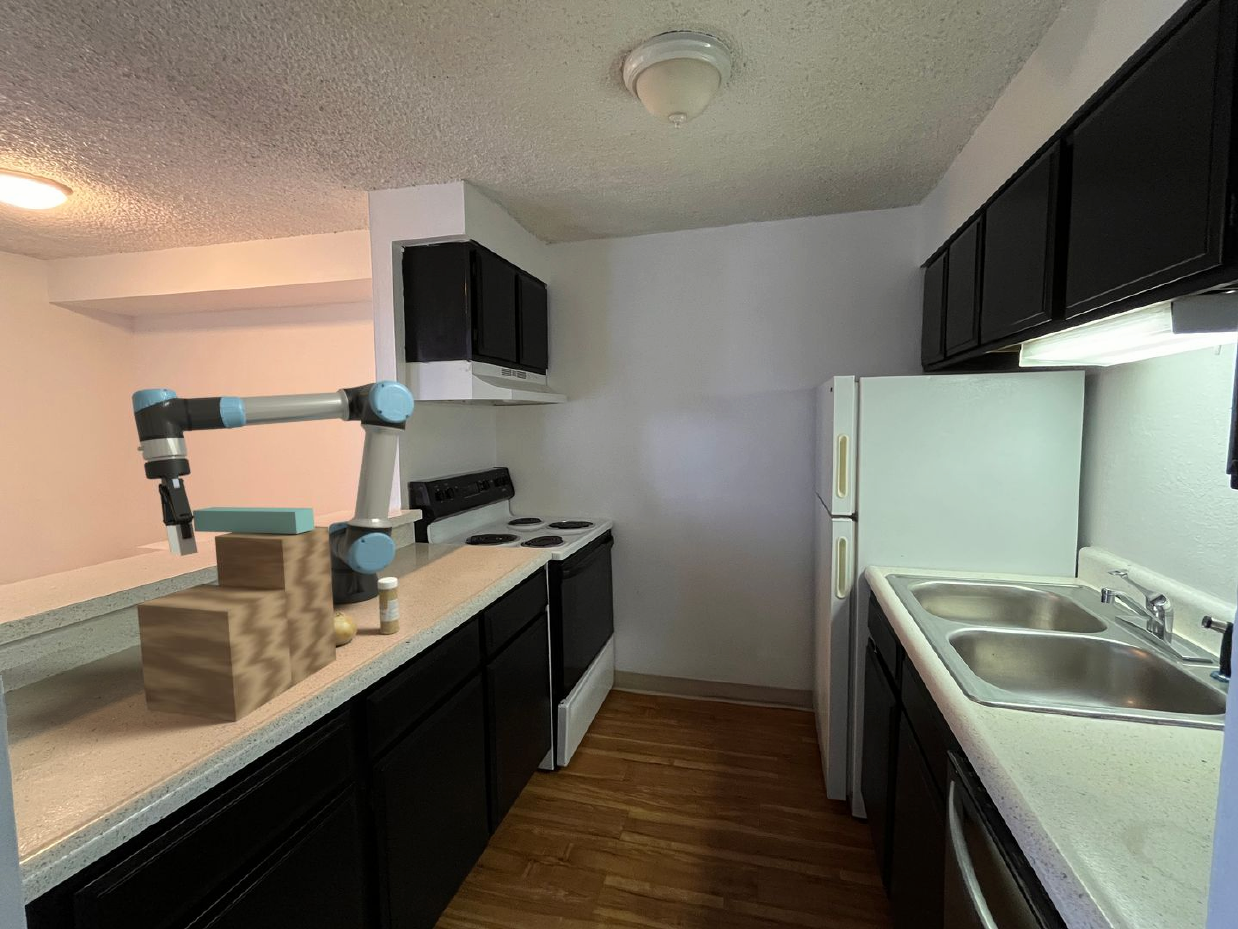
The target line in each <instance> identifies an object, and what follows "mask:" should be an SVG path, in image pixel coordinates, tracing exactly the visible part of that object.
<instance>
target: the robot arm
mask: <svg viewBox="0 0 1238 929" xmlns="http://www.w3.org/2000/svg"><path fill="white" fill-rule="evenodd" d="M131 400H132V407H133V408H132V409H133V415H134V420H135V425H136V429H137V430H136V431H137V433H138V434H137V435H138V439H139V443H140V446H137V449H136V450H137V451H138V452H142V453H141V454H142V459H143V460H144V461H147V462H144V464H143V468H144V473H145V477H146V479H147V480H159V479H160V480H161V483H158V485H157V488H158V493H159V495H160V501H161V511H162V512H161V513H162V522H163V524H164V525H165V530H166V534H167V535H166V536H167V541H168V545H169V552H170V555H175V554H180V557H182V556H183V557H184V556H188V555H192V554H198V553H199V552H198V547H197V541H196V536H195V529H194V524H193V521H194V519H193V511H192V509H191V506H190V503H189V499H188V495H187V491H186V486H185V483H184V479H183V478H182V477H186V476H189V475H190V474H191V466H190V462H189V459H188V458H186V457H187V456H188V449H187V448H188V447H187V444H186V439H185V436H184V433H185V432H193V431H196V432H197V431H212V430H225V429H227V430H231V429H232V430H233V429H236V428H243V427H249V426H259V425H260V426H261V425H274V424H285V423H297V422H298V423H299V422H310V421H311V422H312V421H323V420H325V421H326V420H336V419H339V420H341V421H343V422H355V421H356V422H360V426H361V428H362V429H363V430H364V432H365V433H364V434H365V435H364V442H363V448H362V456H361V465H360V471H359V472H360V473H359V480H358V487H357V495H356V501H355V511H354V516H353V517H352V518H351V519H350V520H345V521H339V522H333V523H331V524H330V525H329V526H328V529H329V546H330V563H331V580H332V596H333V604H341V605H343V604H354V603H359V602H364V601H367V600H371V599H373V598H376V597H377V596H378V597H379V590H378V580H380V579H379V576H378V574H377V573H380V572H381V571H383V570H384V569H386V568H387V567H389V565H390V564H391V563H392V561H393V560H394V557H395V554H396V546H395V542H394V540H393V539H392V533H393V523H392V522H390V520H389V518H388V517H389V512H390V511H389V510H390V509H389V508H390V503H391V496H392V488H393V480H394V472H395V466H396V457H397V450H398V442H399V437H400V436H401V435H402V434H404V433H405V432H406V426H407V420H408V419H409V418H410V417H411V415H412V414H413V411H414V408H415V400H414V396H413V394H412V393H411V391H410V389H409V388H408V387H406V386H405V385H404V384H402V383H400V382H398V381H395V380H394V381H393V380H381V381H378V382H371V383H367V384H363V385H359V386H355V387H346V388H338V390H337V391H336V392H320V393H319V392H318V393H317V392H315V393H298V394H296V393H295V394H282V395H281V394H279V395H262V396H261V395H260V396H225V395H223V396H212V397H211V396H207V397H190V398H186V397H184V398H183V397H178V396H177V393H176V391H175V390H173V389H169V388H147V389H141V390H137V391H135V392H134V393H132V395H131ZM180 477H181V478H180Z"/></svg>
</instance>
